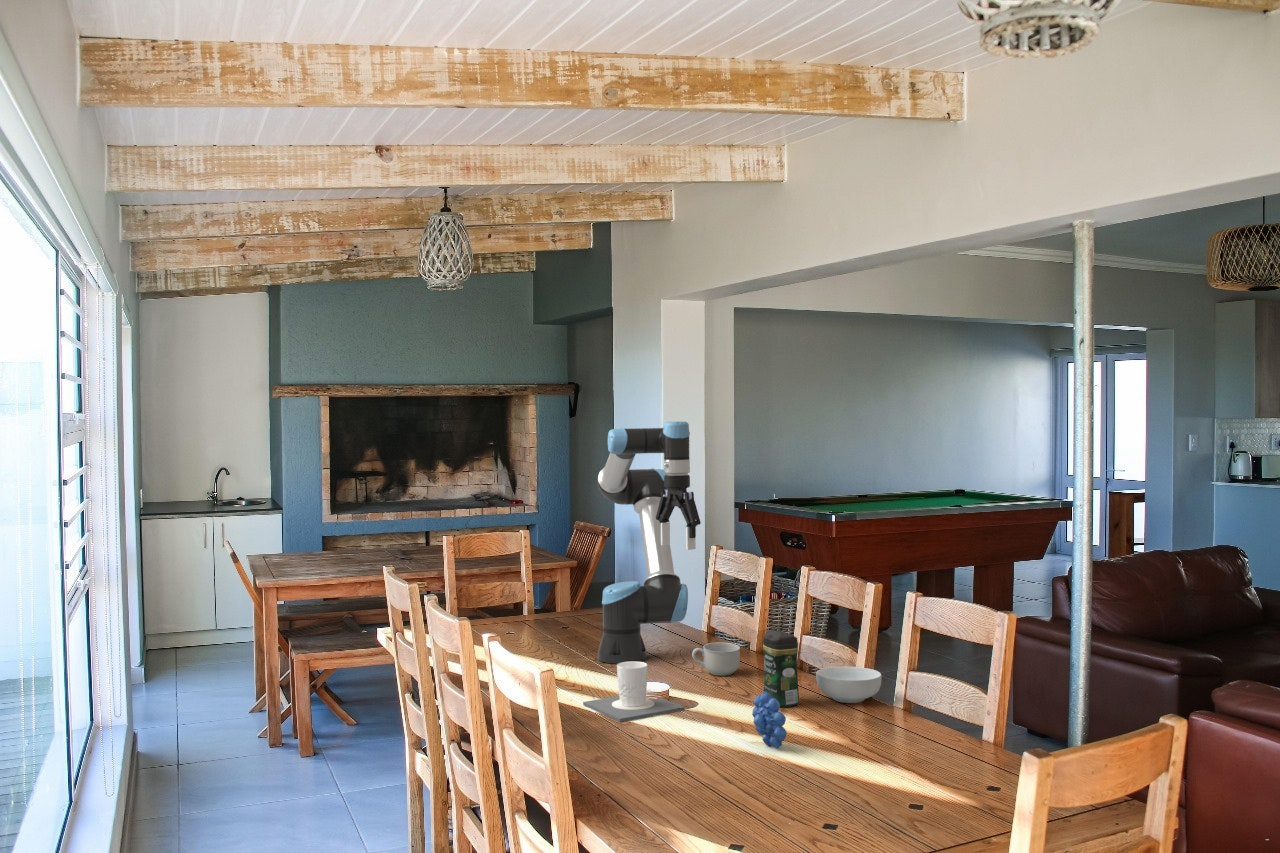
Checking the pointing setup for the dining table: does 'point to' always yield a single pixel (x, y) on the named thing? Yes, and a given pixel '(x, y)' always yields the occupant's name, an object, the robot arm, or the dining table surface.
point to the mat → (632, 708)
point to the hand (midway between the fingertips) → (677, 547)
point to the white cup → (632, 683)
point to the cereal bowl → (848, 683)
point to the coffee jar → (781, 667)
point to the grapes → (769, 720)
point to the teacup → (719, 658)
